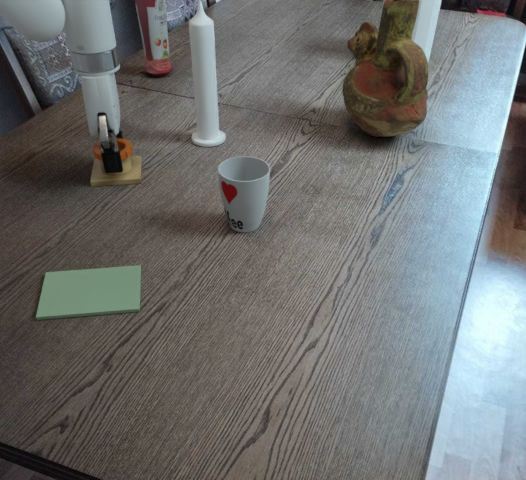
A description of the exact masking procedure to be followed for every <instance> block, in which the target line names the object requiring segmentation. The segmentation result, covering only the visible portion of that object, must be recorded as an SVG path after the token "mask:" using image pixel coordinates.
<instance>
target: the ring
mask: <svg viewBox="0 0 526 480" xmlns="http://www.w3.org/2000/svg"><path fill="white" fill-rule="evenodd" d="M117 143H118V147H121V148H124V149H123V150H122V151H120V155H121V160H124V159H126V158H129V157H130V156H133V153H134V148H133V143H132V142H131V141H129V140H128V139H126V138H123V139H121V138H119V139H118V138H117ZM92 154H93V157H94V158H97V159H98V160H100V161H103V160H102V156H101V148H100V141H97V142H96V143H94V145H93V146H92Z"/></svg>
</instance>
